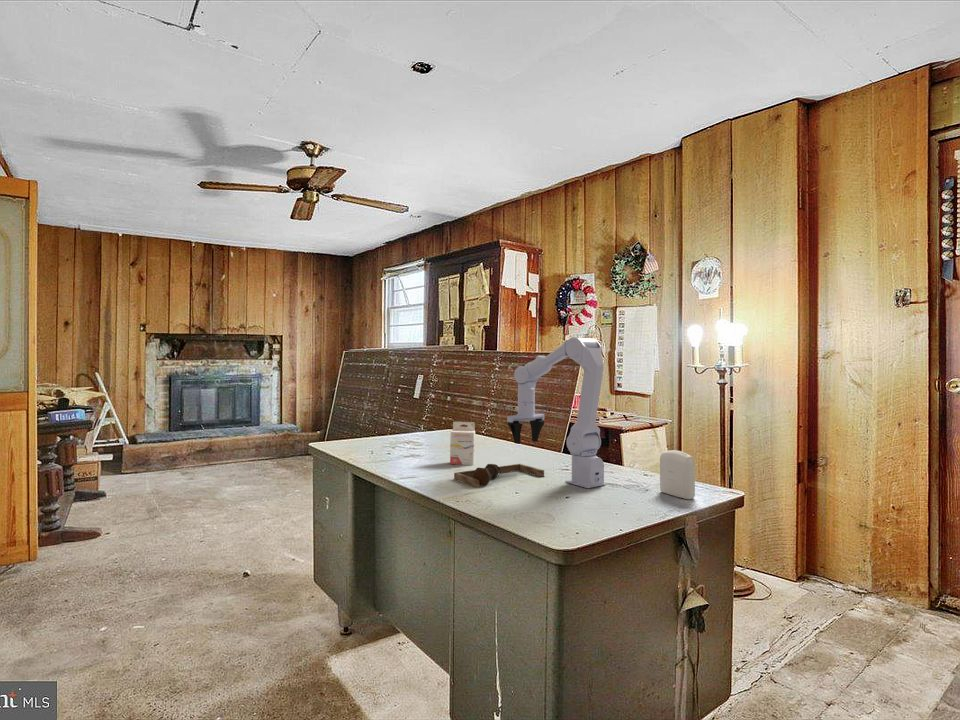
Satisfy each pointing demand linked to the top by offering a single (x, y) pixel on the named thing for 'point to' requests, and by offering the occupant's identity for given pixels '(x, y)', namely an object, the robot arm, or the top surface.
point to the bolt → (486, 474)
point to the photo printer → (677, 474)
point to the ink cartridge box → (462, 444)
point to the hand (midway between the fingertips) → (526, 442)
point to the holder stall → (468, 479)
